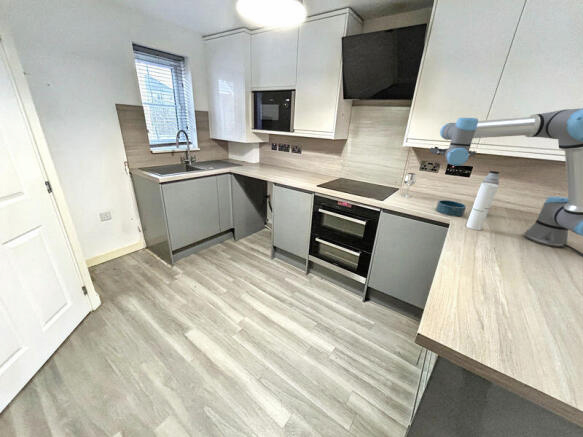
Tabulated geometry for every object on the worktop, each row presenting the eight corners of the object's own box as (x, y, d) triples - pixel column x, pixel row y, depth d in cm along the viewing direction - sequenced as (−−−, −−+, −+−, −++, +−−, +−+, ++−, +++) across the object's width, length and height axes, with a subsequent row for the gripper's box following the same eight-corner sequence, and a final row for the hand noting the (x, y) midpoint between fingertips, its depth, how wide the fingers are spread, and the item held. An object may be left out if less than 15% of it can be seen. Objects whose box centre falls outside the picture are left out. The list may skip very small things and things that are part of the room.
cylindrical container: (484, 230, 130) (502, 186, 120) (471, 229, 130) (488, 185, 120) (475, 225, 137) (491, 183, 127) (463, 224, 137) (478, 182, 127)
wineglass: (402, 194, 194) (407, 172, 187) (413, 196, 189) (418, 173, 182) (399, 195, 188) (404, 173, 181) (410, 198, 183) (415, 175, 176)
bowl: (469, 217, 149) (472, 208, 146) (445, 216, 148) (448, 207, 146) (452, 208, 163) (455, 200, 161) (430, 208, 162) (433, 199, 160)
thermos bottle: (487, 216, 151) (504, 173, 140) (472, 214, 154) (488, 171, 143) (485, 213, 157) (501, 171, 147) (470, 210, 161) (485, 169, 150)
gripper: (423, 159, 118) (423, 155, 136) (483, 165, 108) (475, 160, 125) (427, 143, 116) (427, 141, 133) (489, 148, 105) (480, 145, 123)
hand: (450, 150), depth 129 cm, fingers open, 13 cm apart
